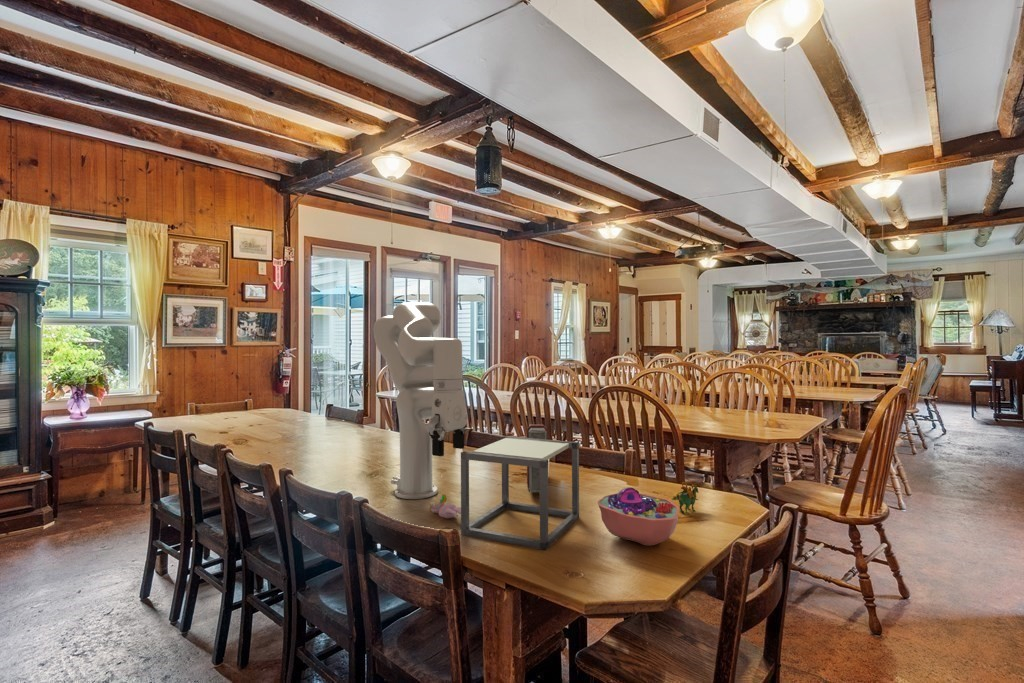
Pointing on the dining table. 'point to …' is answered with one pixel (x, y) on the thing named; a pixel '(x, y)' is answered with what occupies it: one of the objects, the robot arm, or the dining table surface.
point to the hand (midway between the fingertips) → (448, 451)
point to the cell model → (639, 516)
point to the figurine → (687, 497)
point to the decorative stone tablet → (534, 472)
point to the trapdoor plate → (524, 448)
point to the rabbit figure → (445, 508)
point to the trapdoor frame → (543, 509)
